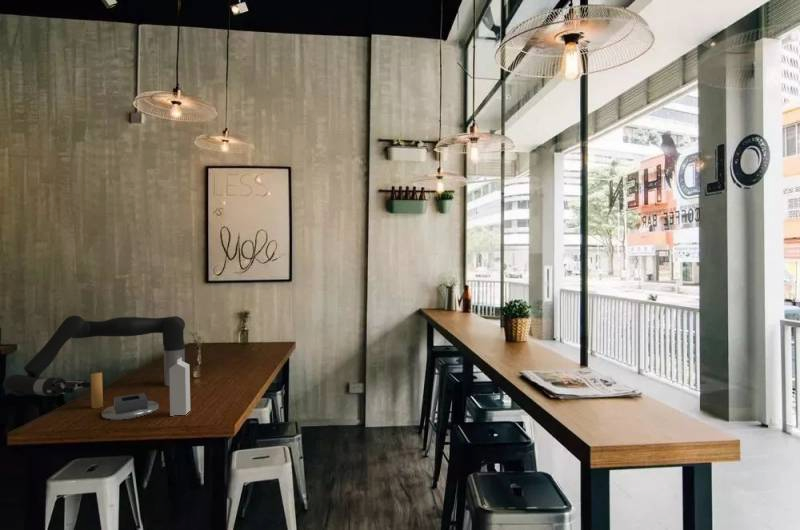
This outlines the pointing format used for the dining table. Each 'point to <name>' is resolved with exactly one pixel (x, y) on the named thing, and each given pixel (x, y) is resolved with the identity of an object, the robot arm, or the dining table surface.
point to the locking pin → (96, 390)
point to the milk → (179, 388)
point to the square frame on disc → (130, 407)
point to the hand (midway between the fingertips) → (82, 387)
